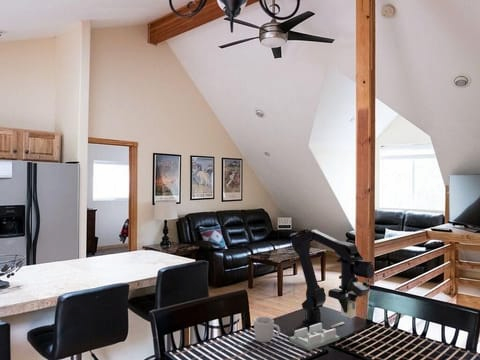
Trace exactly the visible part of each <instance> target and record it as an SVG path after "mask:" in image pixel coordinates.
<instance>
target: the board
mask: <svg viewBox="0 0 480 360" xmlns="http://www.w3.org/2000/svg"><path fill="white" fill-rule="evenodd" d="M308 327H309V329H308ZM308 327H302V328H299V329H295V330H293V334H294V335H293V336H290V337H289V341H290V342H292V343H293V344H296V345H299V346H300V345H301V346H300V347H302V348H304V349H306V350H308V351H312V350H314V349H318V348H320V347H322V346H325V345H328V344H331V343H334V342H337V341H339V340H340V339H341V338H340V336H339V335H337V329H336V327H334V328H331V329H328V330H327V329H324V328H323V322H321V323H318V324H314V325H312V324H310V326H308Z"/></svg>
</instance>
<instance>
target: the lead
mask: <svg viewBox="0 0 480 360" xmlns="http://www.w3.org/2000/svg"><path fill="white" fill-rule="evenodd" d="M342 325H345V322H344V321H341V322H339V323H336V324H335V323H334V324H331V325H330V326H329V327H330V328H331V329H333V328H336V327H340V326H342Z"/></svg>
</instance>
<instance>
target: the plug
mask: <svg viewBox="0 0 480 360" xmlns="http://www.w3.org/2000/svg"><path fill="white" fill-rule="evenodd" d="M340 315H341V316H344V317H346V318H350V319H353V318H355V317H357V301H356V302H354V301H351V300H348V307H347V313H345V312H344V311H343V309H342V306H341V305H340Z"/></svg>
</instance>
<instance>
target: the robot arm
mask: <svg viewBox="0 0 480 360" xmlns="http://www.w3.org/2000/svg"><path fill="white" fill-rule="evenodd" d="M314 241H315V242H318V243H319V244H322V245H323V246H326V247H327V248H329V249H331V250H333V251H334V252H335V254H336V255H337V256H339V258H338V259H337V260H336V263H340V267H341V268H340V271H341V273H340V275H339V276H338V279H340V285H338V288H331V289H329V290H328V291H327V294H326V293H325V288H324V287H321V286H320V285H319V284H318V280H317V277H316V276H317V275H316V273H315V270H314V266H313V262H312V258H311V255H310V251H311V243H312V242H314ZM290 242H291V247H292V248H293V251H294V252H295V253H296V254H297V255H298V257H299V262H300V265H301V269H302V273H303V276H304V281H305V284H306V290H305V291H306V292H305V298H306V299H305V300H304V301H303V302H302V303H301V307H302V310H303V309H304V319H302V322H305V323H307V324H309V325H315V324H318V323H323V320H321V317H322V315H321V314H322V313H321V309H320V308H322V307H323V306H324V304H325V302H326V300H327V299H326V297H329V298H332V299H335V300H337V301H338V302H339V305H340V307H341V306H342V309H343V311H344V312H345V313H347V307H348V300H351V301H354V302H356V303H357V299H358V298H362V297H364V296H367V293H368V292H370V291H371V289H370V283H369V282H368V281H364V282H362V281H361V282H360V281H359V278H358V277H360V278H364V279H373V277H374V275H375V267H374V265H373V264H372V261H371V260H364V258H363V256H362V255H361V253H360V252H359V250H358V247H357V245H356V244H354V243H352V242H349V241H345V240H344V241H342V240H338V239H336V238H334V237H332V236H330V235H328V234H326V233H323V232H321V231H319V230H318V229H316V228H315V229H310V230H308V231H306V232H304V233H302V234H298V235H293V237H291V240H290ZM327 295H328V296H327Z"/></svg>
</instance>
